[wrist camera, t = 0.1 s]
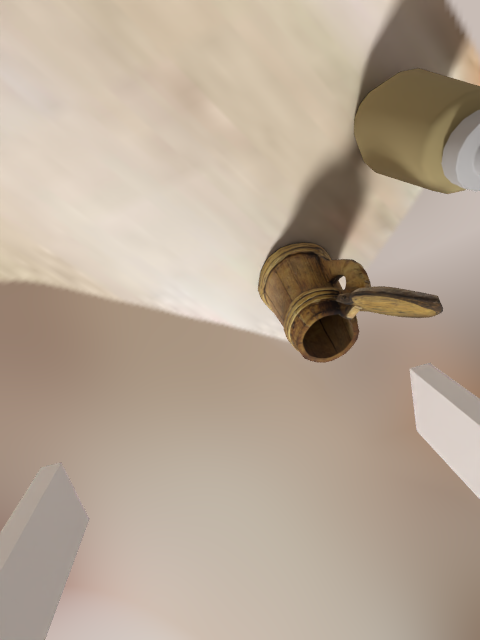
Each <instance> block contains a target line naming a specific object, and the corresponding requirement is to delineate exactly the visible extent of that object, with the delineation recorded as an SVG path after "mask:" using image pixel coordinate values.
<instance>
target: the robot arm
mask: <svg viewBox="0 0 480 640" xmlns="http://www.w3.org/2000/svg"><path fill="white" fill-rule="evenodd" d="M410 375H411V385H412V392H413V393H412V394H413V402H414V411H415V420H416V429H417V431H418V433H419V434H420V435H421V436H422V437H423V438H424V439H425V440H426V441H427V442H428V443H429V445H430V446H431V447H432V448H433V449H434V450H435V451H436V452H437V453H438V454H439V455H440V456H441V457H442V459H443V460H444V461H445V462H446V463H447V464H448V465H449V466H450V467H451V468H452V469H453V471H454V472H455V473H456V474H457V475H458V476H459V477H460V478H461V479H462V480H463V481H464V483H465V484H466V485H467V486H468V487H469V488H470V489H471V490H472V491H473V492H474V493H475V494H476V496H477V497H478V498H479V499H480V399H479V398H478V397H476V396H475V395H474V394H472V393H471V392H469V391H468V390H466V389H465V388H464V387H462V386H461V385H460V384H458V383H457V382H456V381H454V380H453V379H451V378H450V377H449V376H447V375H446V374H444V373H443V372H442V371H440V370H439V369H437V368H436V367H435V366H433V365H432V364H431V363H428V364H424V365H421V366H417V367H413V368H410ZM88 521H89V517H88V515H87V513H86V511H85V509H84V507H83V505H82V503H81V501H80V499H79V497H78V495H77V493H76V491H75V489H74V487H73V485H72V483H71V481H70V479H69V477H68V475H67V473H66V471H65V469H64V467H63V465H62V463H61V462H60V463H56V464H53V465H49V466H45V467H41V468H40V470H39V471H38V473H37V475H36V476H35V478H34V479H33V481H32V483H31V485H30V486H29V487H28V489H27V491H26V492H25V494H24V496H23V497H22V499H21V500H20V502H19V503H18V505H17V507H16V508H15V510H14V512H13V513H12V515H11V516H10V518H9V520H8V521H7V523H6V525H5V526H4V528H3V529H2V531H1V532H0V640H45V638H46V636H47V633H48V630H49V627H50V625H51V622H52V620H53V617H54V614H55V611H56V609H57V606H58V603H59V601H60V597H61V595H62V592H63V590H64V587H65V584H66V581H67V579H68V576H69V573H70V571H71V568H72V565H73V562H74V560H75V557H76V554H77V552H78V549H79V546H80V543H81V541H82V538H83V535H84V532H85V530H86V527H87V524H88Z"/></svg>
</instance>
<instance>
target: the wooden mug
mask: <svg viewBox="0 0 480 640" xmlns="http://www.w3.org/2000/svg"><path fill="white" fill-rule="evenodd" d="M342 276H345V277H346V288H345V290H342V287H341V285H340V283H339V281H338V280H339V279H340V278H341V277H342ZM258 291H259V294H260V297H261V299H262V300H263V301H264V303H265V304H266V305H267V306H268V307H269V308H270V309H271V311H272V312H274V313H275V315H276V316H277V318H278V319H279V321H280V322H281V324H282V325H283V327H284V332H285V334H286V337H287V339H288V341H289V342H290V343H291V344H292V345H293V346H294V348H295V349H296V350H297V351H299V352H300V353H301V354H302V355H303V357H304V358H305V359H308V360H310V361H314V362H329V361H332V360H334V359H337V358H339V357H340V356H342V355H344V354H345V353H346V352H347V351H348V350H349V349H350V348H351V347H352V346H353V345H354V343H355V342H356V340H357V338H358V334H359V329H358V324H357V318H356V314H357V313H358V312H359V311H369V312H374V313H379V314H385V315H391V316H398V317H411V318H424V317H425V318H426V317H432V316H435V315H438V314H440V313H441V312H442V311H443V307H442V305H441V303H440V300H439V298H438V296H435V295H431V294H426V293H421V292H415V291H410V290H405V289H399V288H392V287H371V285H370V281H369V278H368V275H367V273H366V271H365V270H364V268H363V267H362V265H360V264H359V263H357V262H356V261H354V260H349V259H341V260H332V259H331V258H330V256H329V255H328V253H327V252H326V251H325V250H324V248H322V247H320V246H319V245H316V244H313V243H298V244H291V245H288V246H285V247H282V248H280V249H279V250H277V251H276V252H275V253H274V254H272V255H271V256H270V257H269V258H268V259H267V261H266V263H265V264H264V266H263V268H262V270H261V273H260V278H259V285H258Z"/></svg>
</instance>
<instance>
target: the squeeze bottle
mask: <svg viewBox="0 0 480 640" xmlns="http://www.w3.org/2000/svg"><path fill="white" fill-rule="evenodd" d="M354 135H355V138H356V141H357V144H358V147H359V150H360V153H361V155H362V158H363V161H364V162H365V163H366V164H367V165H368V166H369V167H370V168H371V169H372V170H373V171H375V172H376V173H379V174H382V175H385V176H388V177H391V178H395V179H398V180H401V181H404V182H407V183H410V184H413V185H417V186H420V187H423V188H426V189H429V190H432V191H436V192H441V193H445V194H450V193H455V192H459V191H464V190H466V189H467V190H471V191H476V192H477V191H480V86H477V85H474V84H470V83H467V82H463V81H460V80H457V79H453V78H450V77H447V76H443V75H440V74H437V73H433V72H430V71H426V70H423V69H420V68H417V69H412V70H407V71H403V72H399V73H397V74H396V75H394V76H393V77H391V78H390V79H388V80H387V81H385V82H384V83H382V84H381V85H380V86H378V87H377V88H375V89H374V90H372V91H371V92H369V93H368V95H367V96H366V97H365V99H364V100H363V101H362V103H361V104H360V105H359V108H358V111H357V114H356V116H355V119H354Z"/></svg>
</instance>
